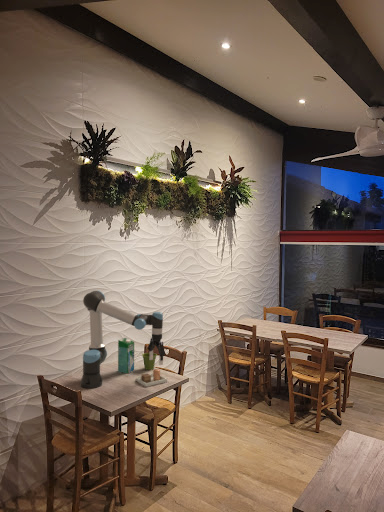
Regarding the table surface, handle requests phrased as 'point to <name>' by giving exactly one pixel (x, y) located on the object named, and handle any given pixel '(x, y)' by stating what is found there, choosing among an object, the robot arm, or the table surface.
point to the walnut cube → (146, 378)
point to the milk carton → (125, 355)
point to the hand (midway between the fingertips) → (155, 362)
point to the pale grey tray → (162, 380)
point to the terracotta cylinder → (156, 374)
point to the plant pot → (149, 361)
